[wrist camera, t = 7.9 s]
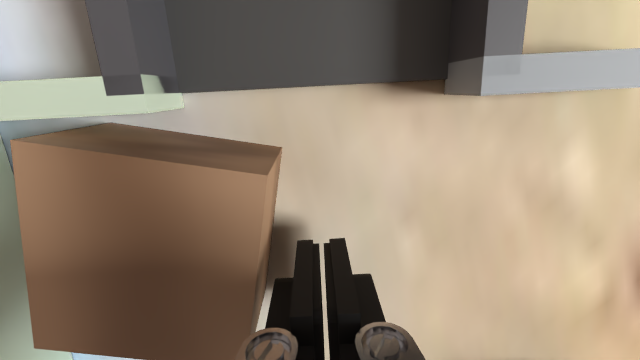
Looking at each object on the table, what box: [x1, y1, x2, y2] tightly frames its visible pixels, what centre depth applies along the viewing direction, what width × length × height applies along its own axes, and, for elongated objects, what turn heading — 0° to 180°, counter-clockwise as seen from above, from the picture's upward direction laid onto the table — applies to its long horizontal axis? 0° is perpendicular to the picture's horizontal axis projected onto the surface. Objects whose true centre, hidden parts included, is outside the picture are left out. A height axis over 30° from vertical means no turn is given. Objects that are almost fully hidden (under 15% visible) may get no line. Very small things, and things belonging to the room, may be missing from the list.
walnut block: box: [10, 123, 282, 360], centre depth 10 cm, size 6×6×4 cm
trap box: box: [0, 0, 640, 360], centre depth 11 cm, size 23×26×2 cm
